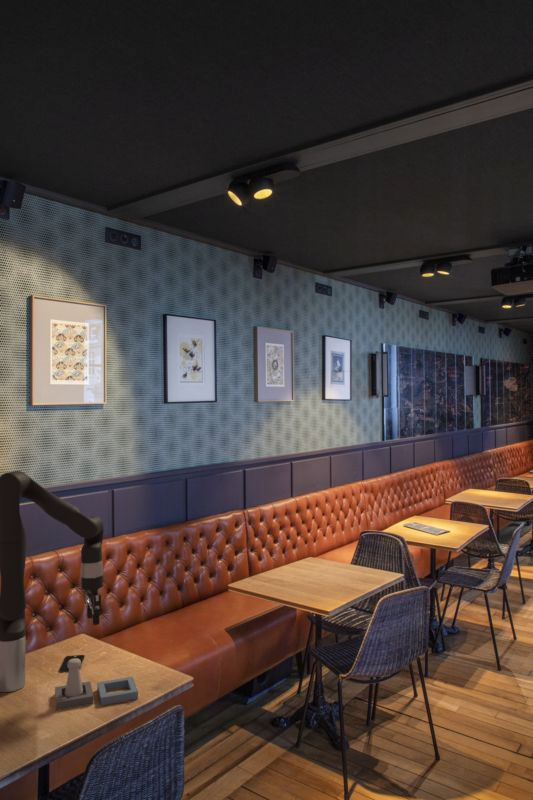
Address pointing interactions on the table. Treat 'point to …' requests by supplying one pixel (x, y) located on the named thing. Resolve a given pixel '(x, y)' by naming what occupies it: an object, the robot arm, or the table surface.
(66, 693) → the salt shaker
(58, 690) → the collar
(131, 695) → the collar
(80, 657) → the smartphone
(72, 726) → the table surface
